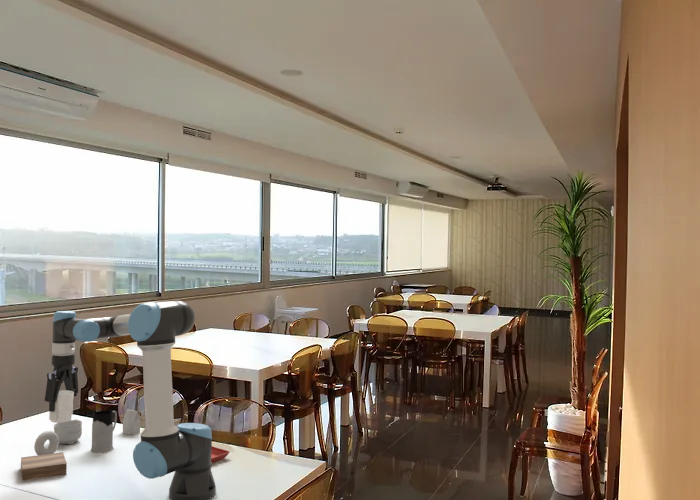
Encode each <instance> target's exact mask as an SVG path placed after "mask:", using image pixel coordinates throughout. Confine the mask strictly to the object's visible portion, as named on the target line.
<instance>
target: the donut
mask: <svg viewBox="0 0 700 500" xmlns="http://www.w3.org/2000/svg"><path fill="white" fill-rule="evenodd" d="M47 440H48V441H49V443H48V446H47V447H45V443H46V442H47ZM59 444H60V443H59V439H58V436H57V434H56V433H55V432H54V430H53V431H52V430H45V431H44V432H42V433H40V434H39V435H38V436H37V438H36V439H35V442H34V446H33V448H34V452H35V454H36V456H37V455H45V454H52V453H56V451H57V449H58V447H59Z"/></svg>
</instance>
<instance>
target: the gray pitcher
mask: <svg viewBox="0 0 700 500" xmlns="http://www.w3.org/2000/svg"><path fill="white" fill-rule="evenodd" d="M113 417H114V419H113ZM117 418H118V414H117V411H116V410H109V409H107V410H106V409H104V410H103V409H101V410H97V411H94V412H93V413H92V424H91V447H90V450H89V451H90V452H91V453H94V454H104V453H105V452H106V453H108V452H109V451H110V452H111V451H113V450H114V446H113V445H114V444H113V442H114V440H113V439H114V436H113V435H114V431H115V428H116V425H117V420H118V419H117ZM113 420H114V423H113ZM110 452H109V453H110Z"/></svg>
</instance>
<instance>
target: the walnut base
mask: <svg viewBox="0 0 700 500" xmlns="http://www.w3.org/2000/svg"><path fill="white" fill-rule="evenodd" d="M67 468H68V466H67V460H66V457H65V453H64V451H62V452H61V451H60V452H54V453H52V454H45V455H37V454H36V455H31V456H22V457H20V474H21V481H22V482H25V481H26V482H27V481H31V480H36V479H37V480H38V479H39V480H40V479H47V478H51V477H61V476H66V475H67Z"/></svg>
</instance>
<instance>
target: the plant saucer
mask: <svg viewBox="0 0 700 500" xmlns="http://www.w3.org/2000/svg"><path fill="white" fill-rule="evenodd" d="M229 454H230V451H229V450H227V449H223V448H219V447H217V446H212V450H211V464H213V463H216V462H220V461H222V460H224V459H225V458H226V457H227V456H228V455H229Z"/></svg>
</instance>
